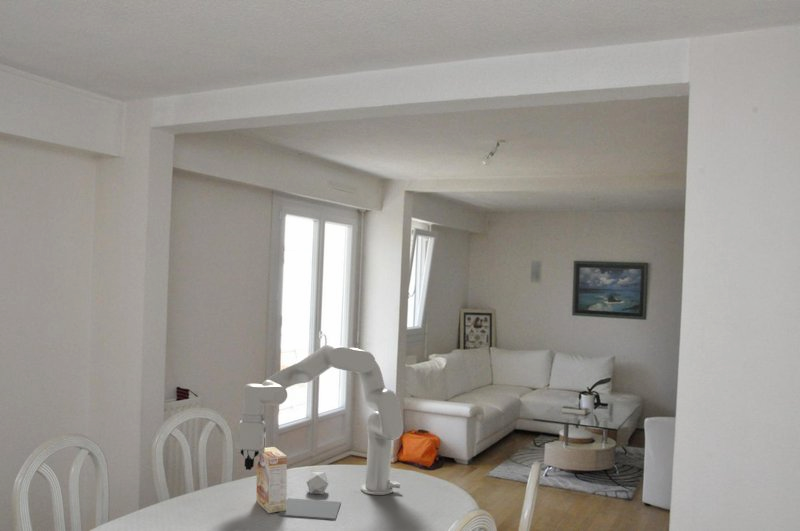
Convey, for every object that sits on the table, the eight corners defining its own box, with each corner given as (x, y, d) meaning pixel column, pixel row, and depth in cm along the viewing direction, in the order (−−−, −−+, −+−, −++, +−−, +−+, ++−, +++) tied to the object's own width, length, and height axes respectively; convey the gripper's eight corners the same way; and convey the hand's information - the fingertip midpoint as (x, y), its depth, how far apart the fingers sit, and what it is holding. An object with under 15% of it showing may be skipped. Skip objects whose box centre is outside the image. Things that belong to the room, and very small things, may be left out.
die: (318, 499, 269) (333, 477, 272) (300, 486, 271) (315, 464, 274) (319, 500, 277) (334, 479, 280) (302, 487, 278) (316, 466, 281)
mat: (340, 503, 264) (340, 501, 264) (335, 520, 246) (335, 518, 246) (287, 499, 264) (287, 498, 264) (278, 516, 246) (278, 514, 246)
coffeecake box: (255, 501, 260) (256, 448, 261) (274, 498, 264) (275, 446, 264) (267, 513, 247) (268, 457, 247) (287, 510, 250) (287, 455, 251)
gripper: (274, 417, 260) (271, 467, 259) (234, 414, 260) (231, 464, 260) (270, 421, 252) (267, 473, 252) (229, 418, 253) (225, 470, 252)
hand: (248, 468), depth 256 cm, fingers closed
